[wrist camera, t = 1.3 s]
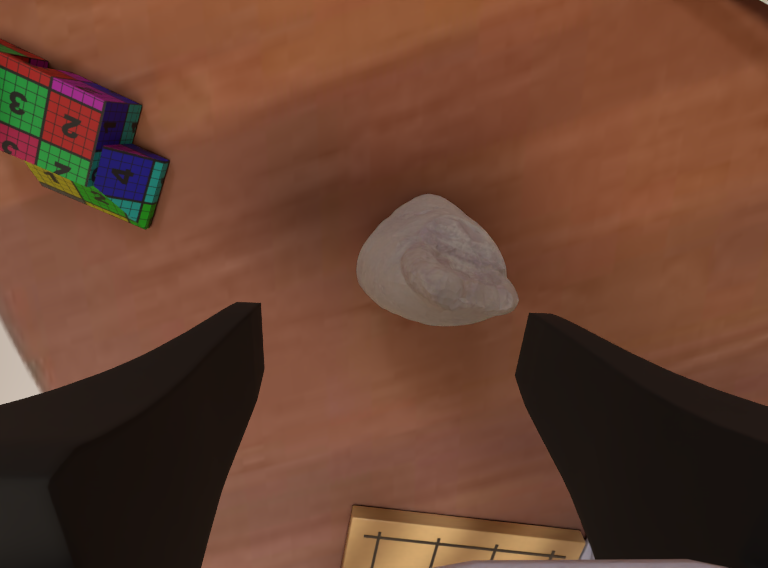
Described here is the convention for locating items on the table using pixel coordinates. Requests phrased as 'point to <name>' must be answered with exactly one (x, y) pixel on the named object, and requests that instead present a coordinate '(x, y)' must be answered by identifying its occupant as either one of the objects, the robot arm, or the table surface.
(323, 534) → the table surface
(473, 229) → the fossil
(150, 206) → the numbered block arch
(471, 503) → the table surface
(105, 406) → the robot arm
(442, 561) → the grid board
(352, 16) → the table surface
